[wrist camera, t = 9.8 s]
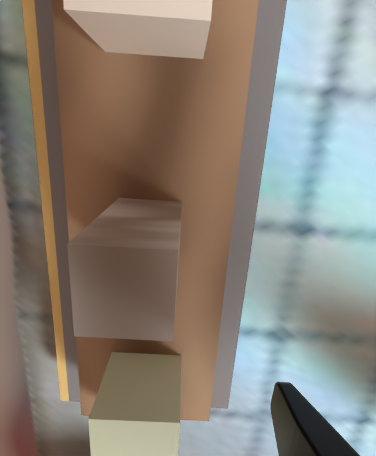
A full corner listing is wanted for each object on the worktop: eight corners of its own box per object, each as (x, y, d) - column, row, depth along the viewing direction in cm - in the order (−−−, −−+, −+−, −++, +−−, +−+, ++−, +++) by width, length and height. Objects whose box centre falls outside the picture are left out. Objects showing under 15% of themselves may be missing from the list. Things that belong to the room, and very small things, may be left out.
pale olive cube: (181, 355, 16) (180, 422, 12) (178, 407, 17) (175, 483, 14) (111, 352, 16) (88, 419, 12) (113, 404, 17) (92, 480, 13)
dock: (281, -66, 15) (303, -113, 12) (222, 376, 24) (227, 408, 21) (42, -86, 15) (7, -139, 12) (76, 369, 24) (60, 400, 21)
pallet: (251, -45, 13) (380, -406, 4) (206, 381, 21) (219, 556, 12) (75, -59, 13) (-157, -466, 4) (96, 376, 20) (30, 549, 12)
